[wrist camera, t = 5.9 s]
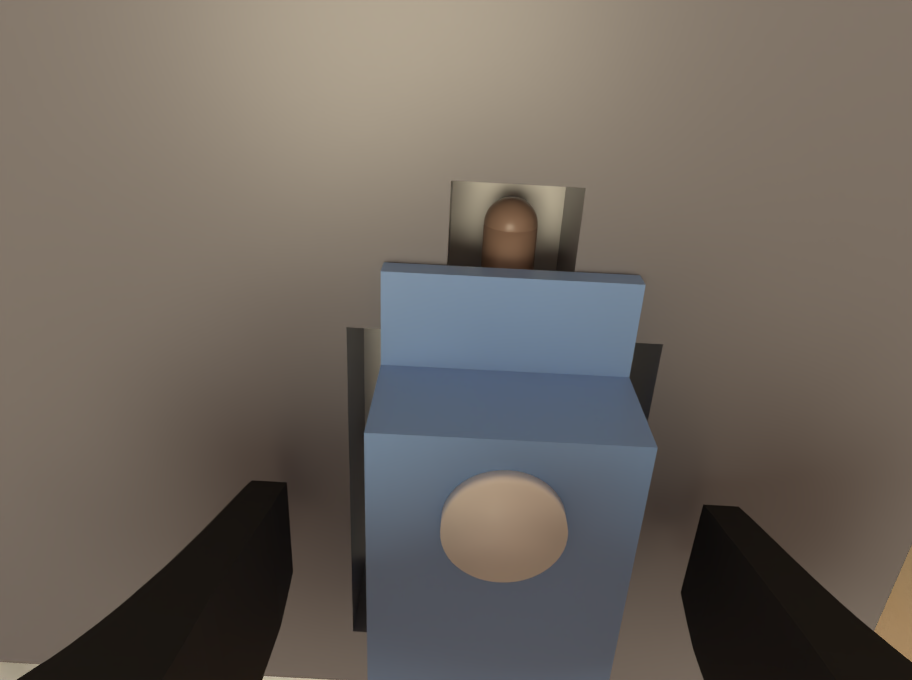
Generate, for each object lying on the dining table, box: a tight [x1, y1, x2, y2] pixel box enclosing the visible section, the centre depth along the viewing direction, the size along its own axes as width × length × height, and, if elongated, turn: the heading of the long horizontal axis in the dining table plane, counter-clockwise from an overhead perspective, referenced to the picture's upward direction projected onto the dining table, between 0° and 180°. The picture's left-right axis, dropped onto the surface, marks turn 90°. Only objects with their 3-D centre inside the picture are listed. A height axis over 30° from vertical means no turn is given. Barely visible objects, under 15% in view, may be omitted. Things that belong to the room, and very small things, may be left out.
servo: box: [364, 196, 658, 680], centre depth 13 cm, size 4×10×5 cm, turn 177°
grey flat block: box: [0, 0, 912, 680], centre depth 13 cm, size 22×16×3 cm
